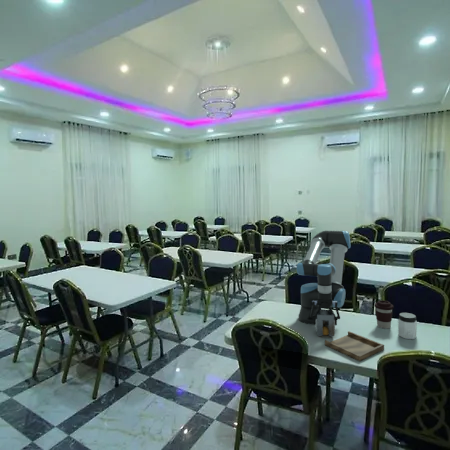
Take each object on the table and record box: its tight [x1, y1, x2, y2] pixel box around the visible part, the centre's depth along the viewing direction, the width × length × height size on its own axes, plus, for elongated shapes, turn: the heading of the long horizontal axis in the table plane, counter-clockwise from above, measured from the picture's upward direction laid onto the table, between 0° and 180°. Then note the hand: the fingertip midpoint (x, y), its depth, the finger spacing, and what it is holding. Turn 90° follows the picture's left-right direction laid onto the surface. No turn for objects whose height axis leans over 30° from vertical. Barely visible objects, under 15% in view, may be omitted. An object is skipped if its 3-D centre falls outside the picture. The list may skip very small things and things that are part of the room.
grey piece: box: [316, 308, 335, 337], centre depth 183 cm, size 9×9×12 cm
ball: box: [323, 327, 329, 336], centre depth 184 cm, size 5×5×5 cm
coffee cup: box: [374, 300, 394, 330], centre depth 191 cm, size 10×10×15 cm
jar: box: [397, 312, 418, 340], centre depth 178 cm, size 9×8×12 cm
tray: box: [324, 330, 385, 362], centre depth 168 cm, size 21×20×2 cm
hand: (325, 330), depth 184 cm, fingers closed on grey piece, 9 cm apart
